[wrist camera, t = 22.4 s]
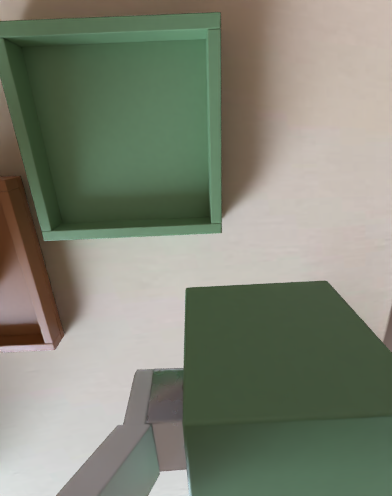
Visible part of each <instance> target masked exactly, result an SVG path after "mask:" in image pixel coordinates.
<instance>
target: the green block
mask: <svg viewBox="0 0 392 496" xmlns="http://www.w3.org/2000/svg"><path fill="white" fill-rule="evenodd" d="M182 425H183V436H184V446H185V456H186V467H187V477H188V487H189V496H392V352H390V350H389V349H388V348H387V347H386V346H385V345H384V344H383V342H382V341H381V340H380V339H379V338H378V337H377V336H376V335H375V334H374V332H373V331H372V330H371V329H370V328H369V327H368V326H367V325H366V324H365V322H364V321H363V320H362V319H361V318H360V317H359V316H358V315H357V314H356V312H355V311H354V310H353V309H352V308H351V307H350V306H349V305H348V304H347V303H346V301H345V300H344V299H343V298H342V297H341V296H340V295H339V294H338V293H337V291H336V290H335V289H334V288H333V287H332V286H331V285H330V284H329V283H328V281H309V282H290V283H270V284H251V285H231V286H212V287H192V288H186V293H185V335H184V376H183V417H182Z"/></svg>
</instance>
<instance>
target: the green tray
mask: <svg viewBox="0 0 392 496" xmlns="http://www.w3.org/2000/svg"><path fill="white" fill-rule="evenodd" d="M220 28H221V13H220V12H211V13H187V14H162V15H138V16H113V17H89V18H64V19H40V20H16V21H0V78H1V81H2V85H3V89H4V93H5V96H6V100H7V104H8V108H9V111H10V115H11V119H12V123H13V126H14V130H15V134H16V137H17V141H18V145H19V149H20V152H21V156H22V160H23V164H24V167H25V171H26V175H27V179H28V182H29V186H30V190H31V194H32V197H33V201H34V205H35V209H36V212H37V216H38V220H39V224H40V227H41V231H42V235H43V239H44V241H55V240H77V239H99V238H122V237H144V236H167V235H189V234H211V233H222V184H221V29H220Z"/></svg>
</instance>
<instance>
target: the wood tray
mask: <svg viewBox="0 0 392 496" xmlns="http://www.w3.org/2000/svg"><path fill="white" fill-rule="evenodd" d="M63 337H64V332H63V328H62V325H61V321H60V317H59V314H58V310H57V307H56V303H55V299H54V296H53V292H52V288H51V285H50V281H49V278H48V274H47V270H46V267H45V263H44V259H43V256H42V252H41V249H40V245H39V241H38V238H37V234H36V230H35V227H34V223H33V220H32V216H31V212H30V209H29V205H28V201H27V198H26V194H25V191H24V187H23V183H22V180H21V176H6V177H0V352H21V351H43V350H55V349H56V348H57V346H58V344H59V343H60V341H61V339H62V338H63Z"/></svg>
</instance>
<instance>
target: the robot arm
mask: <svg viewBox="0 0 392 496" xmlns="http://www.w3.org/2000/svg"><path fill="white" fill-rule="evenodd" d="M183 376H184V368H167V369H141V370H137V371H136V373H135V375H134V379H133V383H132V388H131V392H130V397H129V401H128V406H127V410H126V414H125V419H124V423H123V425H117V426H116V428H115V429H114V430H113V431H112V432H111V433H110V434H109V436H108V437H107V438H106V439H105V440H104V441H103V442H102V444H101V445H100V446H99V447H98V448H97V449H96V450H95V452H94V453H93V454H92V455H91V456H90V457H89V458H88V460H87V461H86V462H85V463H84V464H83V465H82V466H81V468H80V469H79V470H78V471H77V472H76V473H75V474H74V476H73V477H72V478H71V479H70V480H69V481H68V482H67V484H66V485H65V486H64V487H63V488H62V489H61V490H60V492H59V493H58V494H57V495H56V496H148V495H149V493H150V491H151V489H152V487H153V485H154V484H155V482H156V480H157V478H158V476H159V475H160V473H159V472H160V471H172V470H184V469H187V467H186V456H185V446H184V436H183V425H182V417H183Z"/></svg>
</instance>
